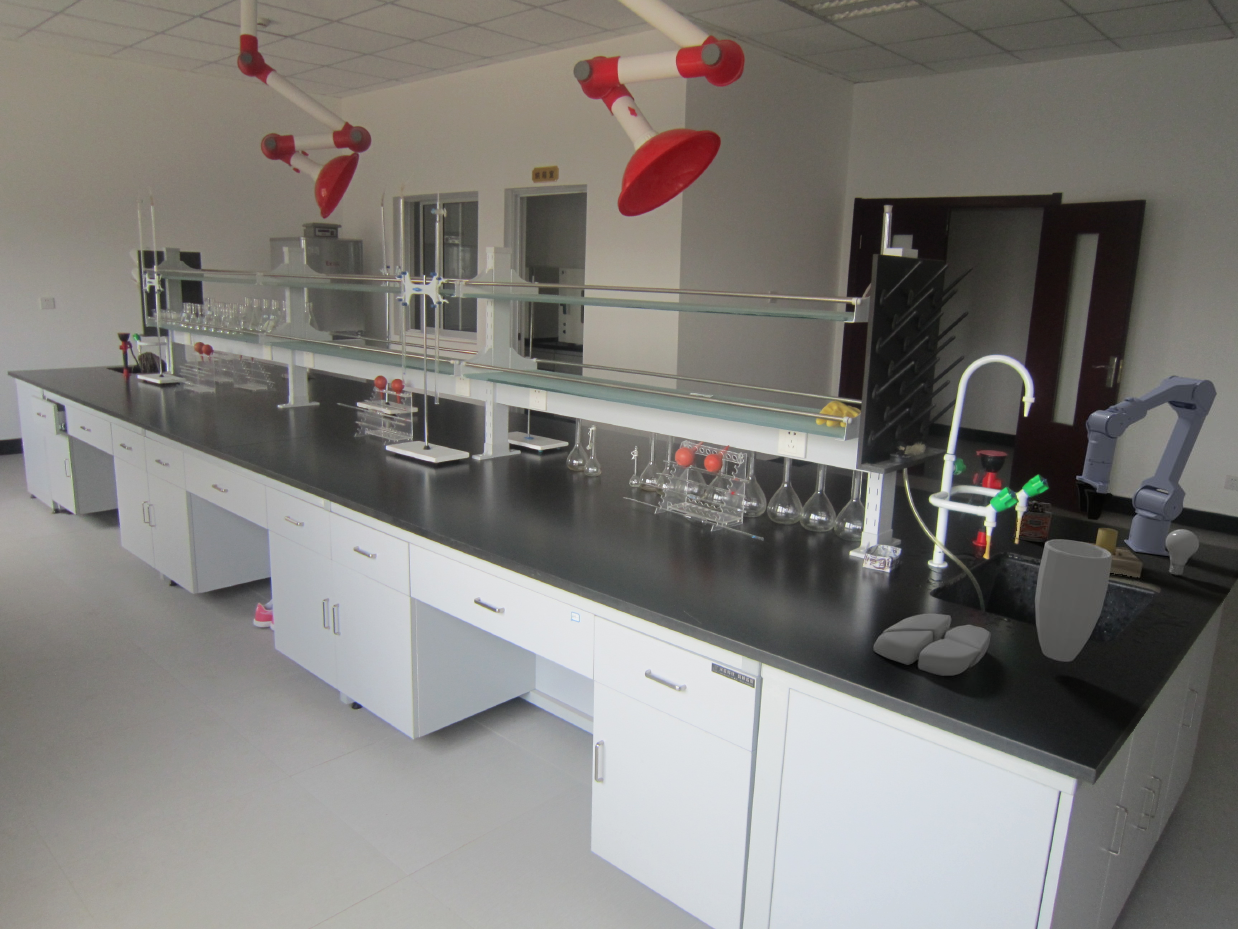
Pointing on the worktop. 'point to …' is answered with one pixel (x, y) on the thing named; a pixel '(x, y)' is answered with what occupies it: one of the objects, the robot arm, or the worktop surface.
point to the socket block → (1125, 562)
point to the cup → (1069, 595)
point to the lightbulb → (1180, 549)
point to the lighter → (1035, 522)
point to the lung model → (934, 644)
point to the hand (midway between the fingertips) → (1088, 515)
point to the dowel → (1107, 539)
